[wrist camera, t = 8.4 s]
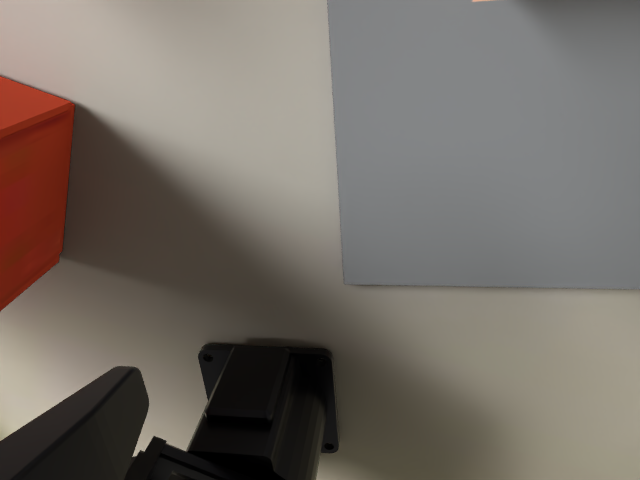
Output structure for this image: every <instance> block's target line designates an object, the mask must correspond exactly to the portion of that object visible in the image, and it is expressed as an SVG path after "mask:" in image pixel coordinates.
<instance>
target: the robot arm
mask: <svg viewBox="0 0 640 480" xmlns="http://www.w3.org/2000/svg"><path fill="white" fill-rule="evenodd" d="M207 354H210V355H211V356H212V357H211V356H208V355H207ZM320 358H322V359H324V360H326V361H320V360H319V359H320ZM198 359H199V363H200V367H201V372H202V376H203V381H204V385H205V389H206V394H207V398H208V403H207V405H206V407H205V410H204V412H203V414H202V417H201V419H200V421H199V423H198V426H197V428H196V430H195V432H194V434H193V437H192V439H191V441H190V443H189V446H188V448H187V450H186V451H184V450H181V449H179V448H176V447H174V446H171V445H169V444H166V442H167V441H166V440H163V439H161V438H158V437H156V436H154V437H153V438H152V440H151V442H150V443H149V445H148V447H147V449H146V450H145V452H144V451H141V450H140V452H139V453H138V455H137V456H136V457H132V456H133V453H134V450H135V447H136V444H137V441H138V438H139V436H140V433H141V430H142V427H143V424H144V421H145V418H146V415H147V412H148V408H149V398H148V395H147V391H146V388H145V385H144V381H143V378H142V375H141V372H140V370H139V369H138V368H136V367H130V366H117V367H115V368H113V369H111V370H110V371H108V372H107V373H105V374H103V375H102V376H100V377H99V378H97V379H96V380H94V381H93V382H91V383H90V384H88V385H86V386H85V387H83V388H82V389H80V390H79V391H77V392H76V393H74V394H73V395H71V396H69V397H68V398H66V399H65V400H63V401H62V402H60V403H59V404H57V405H56V406H54V407H52V408H51V409H49V410H48V411H46V412H45V413H43V414H42V415H40V416H38V417H37V418H35V419H34V420H32V421H31V422H29V423H28V424H26V425H25V426H23V427H21V428H20V429H18V430H17V431H15V432H14V433H12V434H11V435H9V436H8V437H6V438H4V439H3V440H1V441H0V480H316V476H317V470H318V465H319V459H320V453H334V452H336V451H337V450H338V448H339V427H338V414H337V401H336V388H335V375H334V362H333V355H332V354H331V352H330V351H328V350H326V349H318V348H291V347H265V346H238V345H211V344H209V345H205V346H203V347H202V349H201V350H200V352H199V354H198ZM330 443H331V444H330Z"/></svg>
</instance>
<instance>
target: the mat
mask: <svg viewBox="0 0 640 480" xmlns="http://www.w3.org/2000/svg"><path fill="white" fill-rule="evenodd" d="M327 5H328V22H329V39H330V56H331V73H332V90H333V107H334V124H335V141H336V158H337V175H338V192H339V209H340V226H341V243H342V260H343V277H344V284H356V285H414V286H473V287H531V288H589V289H640V0H327Z"/></svg>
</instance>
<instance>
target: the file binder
mask: <svg viewBox="0 0 640 480" xmlns="http://www.w3.org/2000/svg"><path fill="white" fill-rule="evenodd" d="M74 110H75V104H73V103H71V102H70V101H67V100H65V99H62V98H59V97H56V96H54V95H51V94H48V93H45V92H42V91H40V90H37V89H34V88H31V87H29V86H26V85H23V84H20V83H17V82H15V81H12V80H9V79H6V78H4V77H1V76H0V311H1V310H2V309H3V308H5V307H6V306H7V305H8V304H9V303H11V302H12V301H13V300H14V299H15V298H16V297H18V296H19V295H20V294H21V293H22V292H24V291H25V290H26V289H27V288H28V287H29V286H31V285H32V284H33V283H34V282H35V281H37V280H38V279H39V278H40V277H41V276H42V275H44V274H45V273H46V272H47V271H48V270H50V269H51V268H52V267H53V266H54V265H55V264H57V263H58V262H59V254H60V253H61V252H62V248H63V237H64V225H65V214H66V202H67V191H68V179H69V168H70V156H71V145H72V133H73V122H74Z"/></svg>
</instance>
